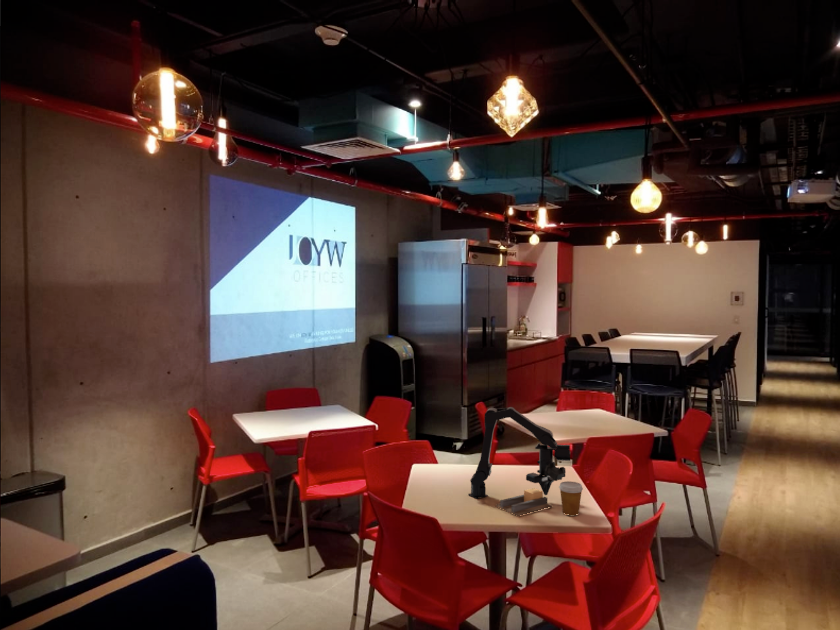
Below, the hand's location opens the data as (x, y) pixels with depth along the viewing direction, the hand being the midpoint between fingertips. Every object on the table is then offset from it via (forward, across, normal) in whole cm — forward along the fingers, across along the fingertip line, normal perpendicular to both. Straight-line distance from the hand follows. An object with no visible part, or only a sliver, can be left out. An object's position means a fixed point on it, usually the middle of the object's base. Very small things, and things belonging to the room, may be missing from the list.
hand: (545, 494), depth 256 cm
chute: (+3, -13, 0) cm, 13 cm away
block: (+2, -8, 0) cm, 8 cm away
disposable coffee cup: (+3, -2, -16) cm, 17 cm away
